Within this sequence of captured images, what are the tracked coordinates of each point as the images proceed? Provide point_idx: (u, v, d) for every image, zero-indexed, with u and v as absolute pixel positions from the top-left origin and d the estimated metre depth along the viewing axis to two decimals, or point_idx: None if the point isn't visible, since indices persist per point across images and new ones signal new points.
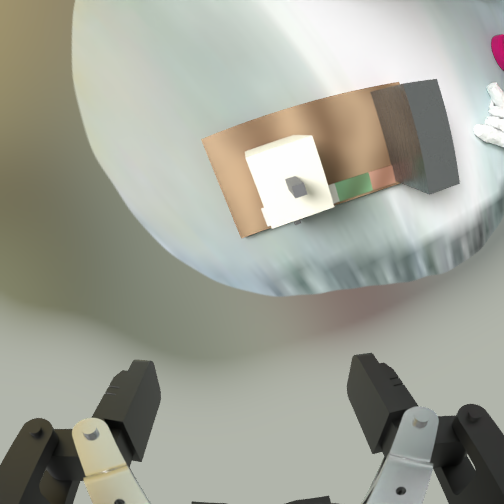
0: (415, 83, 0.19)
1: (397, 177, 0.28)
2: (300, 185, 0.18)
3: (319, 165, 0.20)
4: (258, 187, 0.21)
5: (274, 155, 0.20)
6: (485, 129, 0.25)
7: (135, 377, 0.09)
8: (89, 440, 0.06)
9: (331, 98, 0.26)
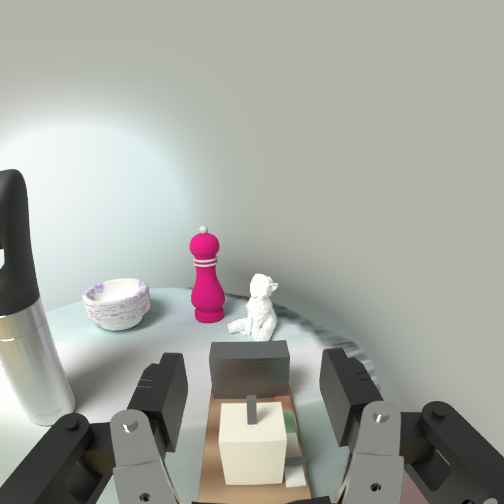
0: (211, 352, 0.36)
1: (284, 392, 0.36)
2: (247, 397, 0.22)
3: (245, 404, 0.25)
4: (246, 440, 0.21)
5: (225, 425, 0.22)
6: (259, 336, 0.52)
7: (168, 369, 0.10)
8: (129, 431, 0.06)
9: (208, 421, 0.32)
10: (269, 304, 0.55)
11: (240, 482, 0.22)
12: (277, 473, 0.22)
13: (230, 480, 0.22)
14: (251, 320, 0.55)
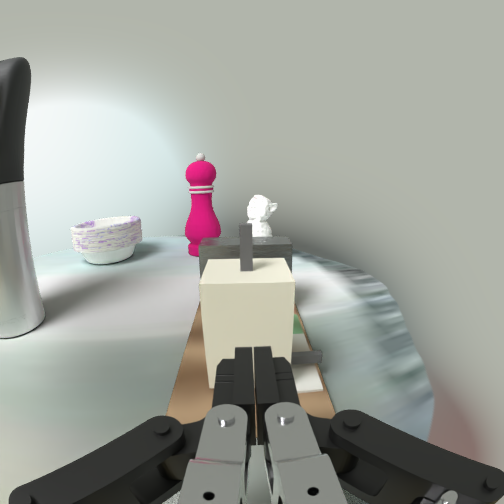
0: (201, 242, 0.33)
1: None
2: (241, 223, 0.19)
3: (238, 259, 0.22)
4: (238, 282, 0.17)
5: (211, 272, 0.19)
6: None
7: (246, 362, 0.10)
8: (231, 427, 0.07)
9: (194, 324, 0.29)
10: (268, 228, 0.52)
11: None
12: None
13: None
14: None
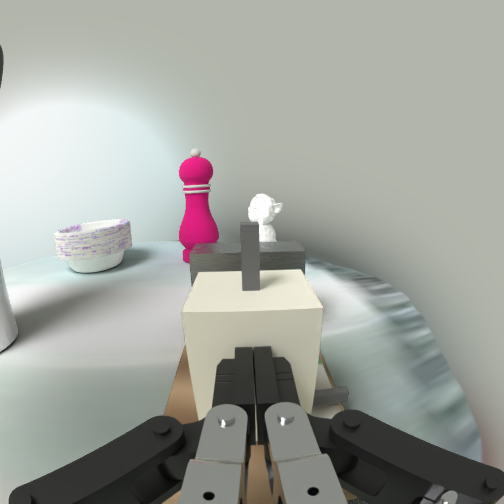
0: (193, 250, 0.26)
1: None
2: (242, 222, 0.13)
3: (239, 272, 0.16)
4: (240, 309, 0.11)
5: (200, 292, 0.13)
6: None
7: (246, 362, 0.10)
8: (231, 427, 0.07)
9: (184, 352, 0.22)
10: (272, 231, 0.45)
11: None
12: None
13: None
14: None
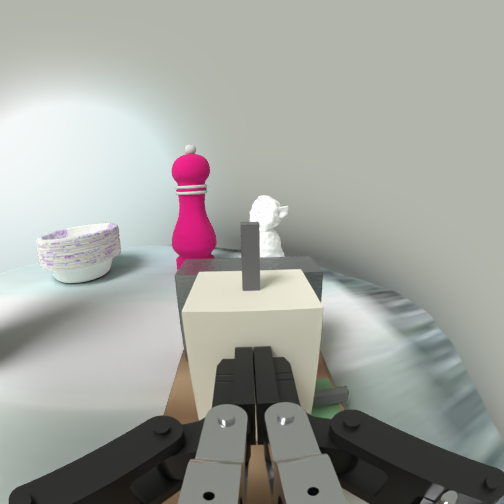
0: (180, 269, 0.21)
1: None
2: (243, 222, 0.13)
3: (239, 272, 0.16)
4: (240, 309, 0.11)
5: (200, 292, 0.13)
6: None
7: (246, 362, 0.10)
8: (231, 427, 0.07)
9: (171, 398, 0.17)
10: (276, 238, 0.40)
11: None
12: None
13: None
14: None
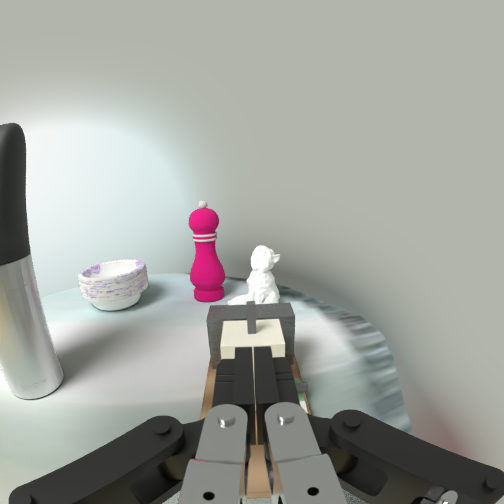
0: (209, 314, 0.34)
1: (289, 360, 0.34)
2: (247, 302, 0.27)
3: (245, 321, 0.29)
4: (247, 344, 0.25)
5: (227, 335, 0.27)
6: None
7: (246, 362, 0.10)
8: (231, 427, 0.07)
9: (206, 391, 0.30)
10: (271, 277, 0.53)
11: None
12: None
13: None
14: (252, 295, 0.53)
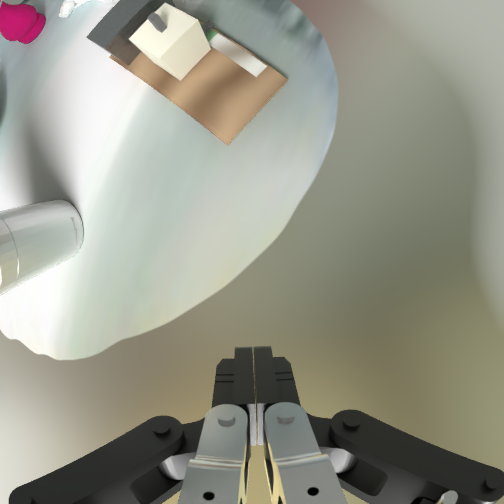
0: (98, 43, 0.23)
1: None
2: (149, 17, 0.19)
3: (144, 24, 0.22)
4: (174, 41, 0.22)
5: (150, 46, 0.23)
6: None
7: (246, 362, 0.10)
8: (231, 427, 0.07)
9: (148, 83, 0.31)
10: None
11: (187, 70, 0.30)
12: (204, 45, 0.27)
13: (181, 75, 0.30)
14: None
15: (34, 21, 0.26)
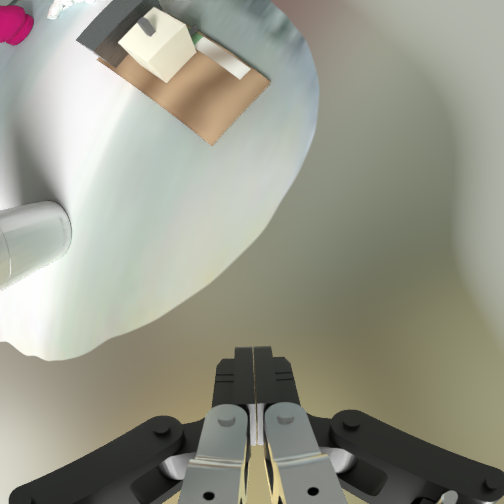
0: (88, 46, 0.23)
1: None
2: (139, 22, 0.20)
3: (133, 28, 0.22)
4: (162, 45, 0.23)
5: (138, 50, 0.23)
6: None
7: (246, 362, 0.10)
8: (231, 427, 0.07)
9: (135, 85, 0.31)
10: None
11: (173, 73, 0.31)
12: (190, 48, 0.28)
13: (167, 77, 0.30)
14: None
15: (23, 23, 0.24)
